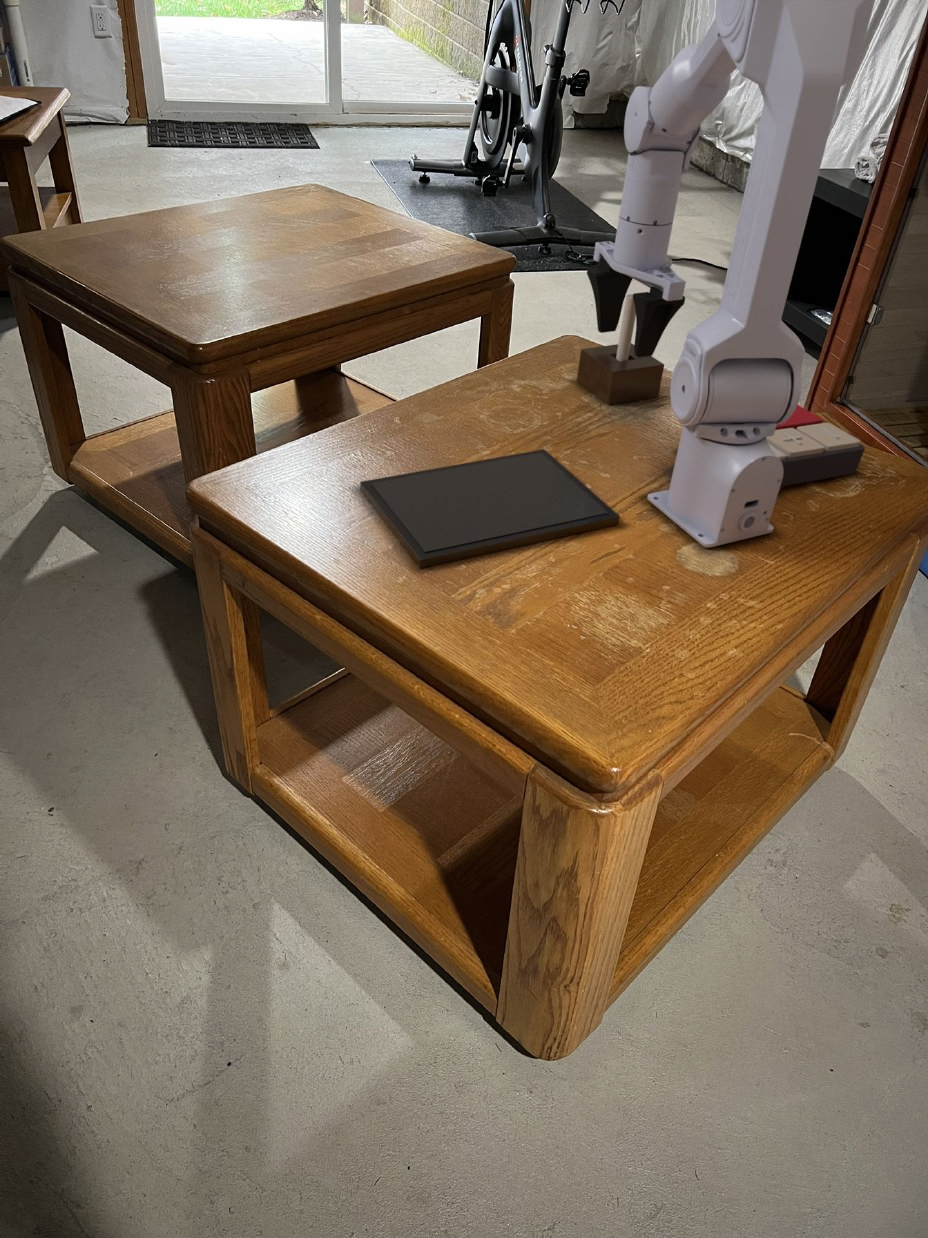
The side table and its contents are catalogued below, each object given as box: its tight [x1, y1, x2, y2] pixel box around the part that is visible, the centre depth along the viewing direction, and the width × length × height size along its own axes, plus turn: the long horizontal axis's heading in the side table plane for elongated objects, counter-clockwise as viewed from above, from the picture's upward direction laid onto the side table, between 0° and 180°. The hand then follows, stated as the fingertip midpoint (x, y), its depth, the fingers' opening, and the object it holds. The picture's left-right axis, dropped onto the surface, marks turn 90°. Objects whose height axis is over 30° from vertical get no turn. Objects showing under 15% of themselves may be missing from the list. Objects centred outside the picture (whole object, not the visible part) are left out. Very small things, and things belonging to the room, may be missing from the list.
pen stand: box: [576, 342, 665, 406], centre depth 109 cm, size 7×7×4 cm
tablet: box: [359, 448, 621, 569], centre depth 87 cm, size 14×20×1 cm
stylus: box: [616, 293, 636, 361], centre depth 107 cm, size 1×1×11 cm
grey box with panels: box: [767, 404, 866, 491], centre depth 97 cm, size 11×4×15 cm
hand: (624, 342), depth 107 cm, fingers open, 7 cm apart
